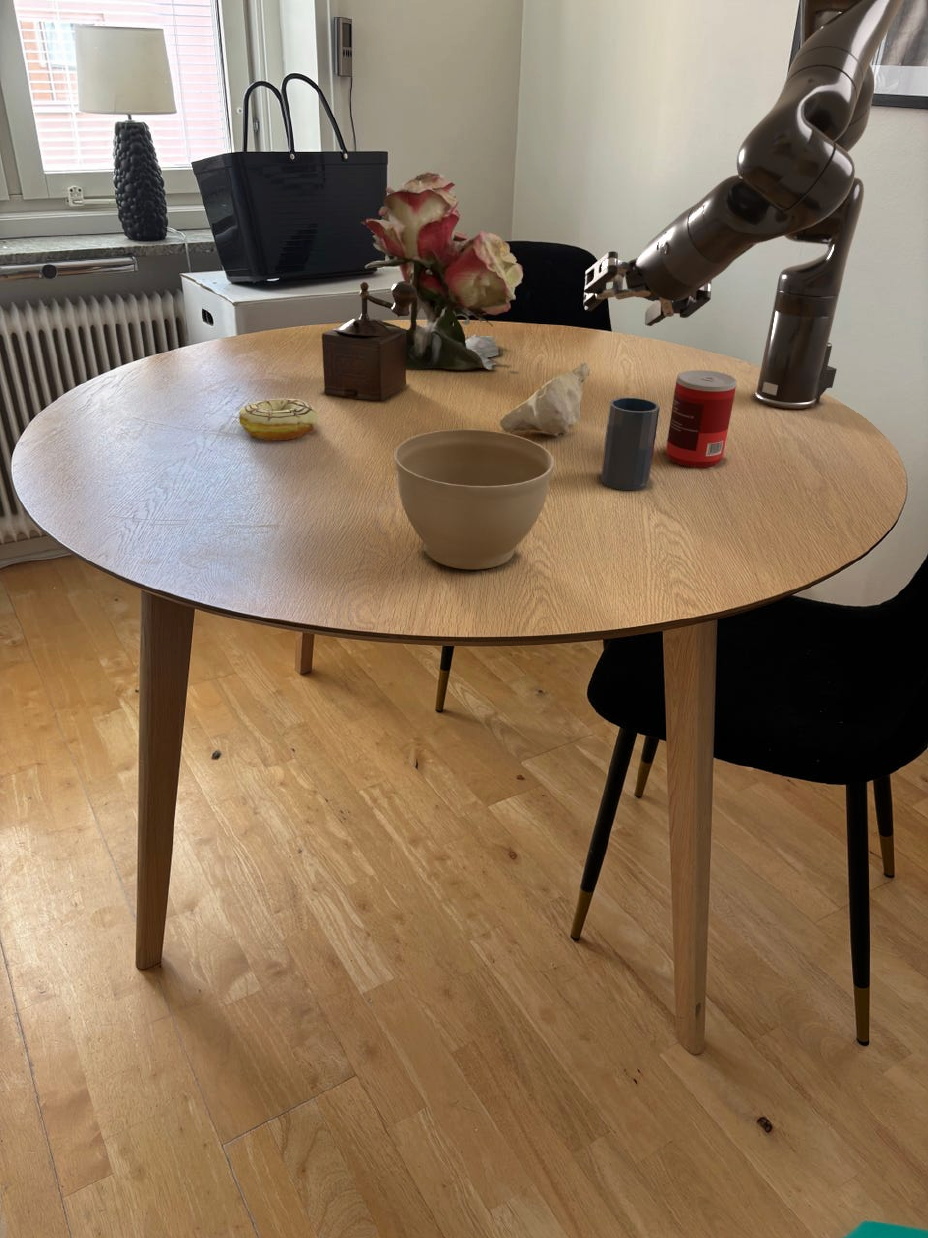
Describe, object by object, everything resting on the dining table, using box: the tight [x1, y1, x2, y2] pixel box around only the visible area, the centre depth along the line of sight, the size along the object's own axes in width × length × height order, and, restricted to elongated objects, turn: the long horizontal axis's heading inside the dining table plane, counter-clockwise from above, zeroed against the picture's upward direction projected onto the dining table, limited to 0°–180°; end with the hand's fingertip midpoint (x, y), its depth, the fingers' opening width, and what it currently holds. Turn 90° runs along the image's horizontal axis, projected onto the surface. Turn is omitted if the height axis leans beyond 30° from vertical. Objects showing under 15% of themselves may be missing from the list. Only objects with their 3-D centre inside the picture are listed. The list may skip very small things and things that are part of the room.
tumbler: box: [600, 396, 661, 491], centre depth 113 cm, size 6×6×10 cm
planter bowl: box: [393, 428, 555, 570], centre depth 94 cm, size 16×16×11 cm
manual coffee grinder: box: [321, 280, 417, 402], centre depth 141 cm, size 16×11×18 cm
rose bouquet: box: [360, 171, 524, 371], centre depth 160 cm, size 26×29×30 cm
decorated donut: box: [238, 398, 319, 442], centre depth 127 cm, size 10×11×4 cm
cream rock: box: [498, 362, 591, 437], centre depth 131 cm, size 15×7×15 cm
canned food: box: [665, 369, 737, 468], centre depth 121 cm, size 8×8×11 cm
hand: (617, 310), depth 113 cm, fingers open, 8 cm apart
